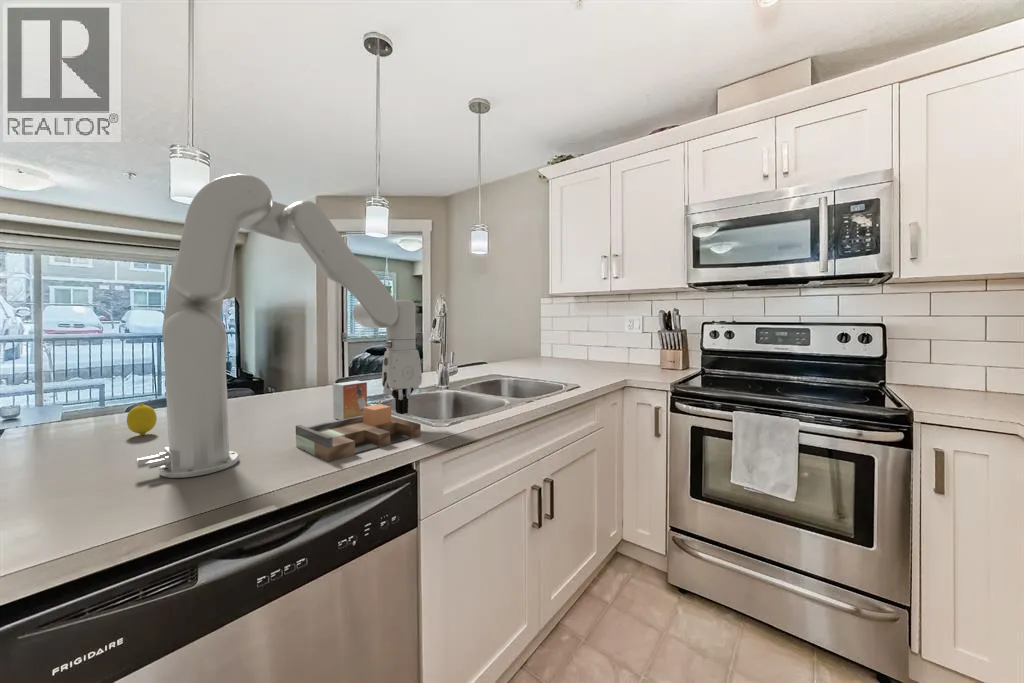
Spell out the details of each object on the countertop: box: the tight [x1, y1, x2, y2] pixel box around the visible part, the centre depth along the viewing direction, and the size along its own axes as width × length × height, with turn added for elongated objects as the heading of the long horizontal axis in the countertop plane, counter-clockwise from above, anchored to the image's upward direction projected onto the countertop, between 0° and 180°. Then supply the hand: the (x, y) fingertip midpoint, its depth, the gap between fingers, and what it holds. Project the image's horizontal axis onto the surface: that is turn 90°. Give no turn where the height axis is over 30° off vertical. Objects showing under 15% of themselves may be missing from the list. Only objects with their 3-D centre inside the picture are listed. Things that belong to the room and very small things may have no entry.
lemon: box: [126, 403, 158, 436], centre depth 102 cm, size 6×6×8 cm
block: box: [363, 403, 392, 426], centre depth 104 cm, size 5×5×4 cm
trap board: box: [295, 415, 422, 463], centre depth 98 cm, size 24×15×5 cm, turn 141°
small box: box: [332, 380, 368, 421], centre depth 121 cm, size 8×6×10 cm
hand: (401, 412), depth 110 cm, fingers closed
